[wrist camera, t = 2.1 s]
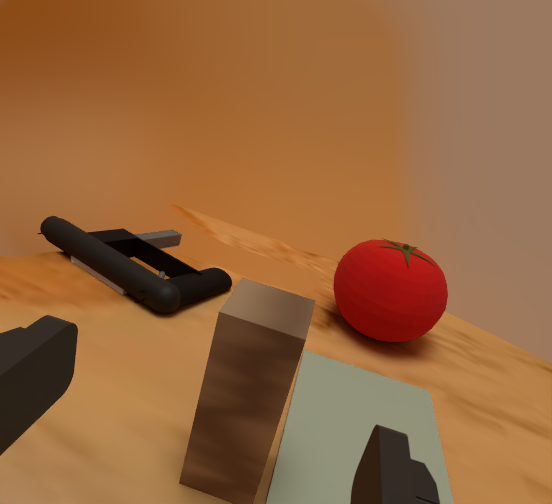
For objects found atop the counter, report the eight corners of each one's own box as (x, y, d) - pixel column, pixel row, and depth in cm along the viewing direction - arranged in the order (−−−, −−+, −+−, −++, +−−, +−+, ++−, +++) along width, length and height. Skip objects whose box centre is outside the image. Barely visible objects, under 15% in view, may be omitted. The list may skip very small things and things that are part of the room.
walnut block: (179, 482, 27) (219, 311, 22) (204, 430, 31) (242, 277, 26) (250, 509, 26) (305, 340, 22) (266, 452, 30) (315, 300, 26)
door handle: (143, 208, 62) (29, 215, 48) (258, 268, 53) (159, 297, 39) (139, 230, 63) (26, 243, 49) (251, 292, 54) (151, 329, 40)
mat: (260, 524, 25) (262, 517, 25) (302, 355, 42) (304, 349, 42) (469, 602, 24) (473, 595, 24) (427, 396, 41) (429, 391, 41)
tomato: (367, 366, 43) (405, 270, 39) (305, 300, 53) (331, 218, 49) (445, 356, 49) (485, 271, 45) (376, 298, 58) (404, 224, 55)
